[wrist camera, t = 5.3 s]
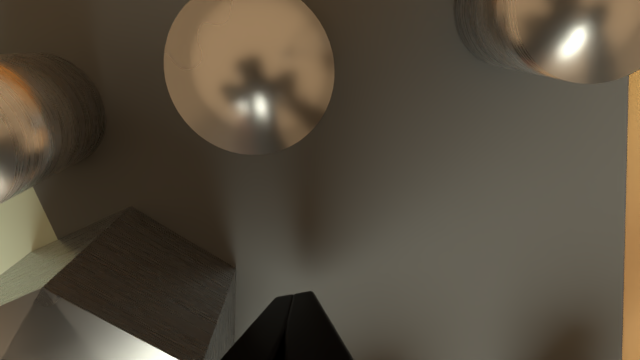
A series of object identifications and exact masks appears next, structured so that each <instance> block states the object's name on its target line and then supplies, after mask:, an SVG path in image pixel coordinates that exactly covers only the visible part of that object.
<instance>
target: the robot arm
mask: <svg viewBox="0 0 640 360" xmlns="http://www.w3.org/2000/svg"><path fill="white" fill-rule="evenodd" d="M220 360H354V359H353V357H352V355H351V354H350V352H349V350H348V349H347V347H346V345H345V344H344V342H343V340H342V339H341V337H340V335H339V334H338V332H337V330H336V329H335V327H334V325H333V324H332V322H331V320H330V319H329V317H328V315H327V314H326V312H325V310H324V309H323V307H322V305H321V304H320V302H319V300H318V299H317V297H316V295H315V294H314V292H313V291H306V292H301V293H296V294H290V295H284V296H278V297H276V298H274V299H273V301H272V302H271V303H270V304H269V305H268V306H267V307H266V308H265V310H264V311H263V312H262V313H261V314H260V315H259V316H258V317H257V319H256V320H255V321H254V322H253V323H252V324H251V325H250V326H249V328H248V329H247V330H246V331H245V332H244V333H243V334H242V336H241V337H240V338H239V339H238V340H237V341H236V342H235V343H234V345H233V346H232V347H231V348H230V349H229V350H228V351H227V352H226V354H225V355H224V356H223V357H222V358H221V359H220Z"/></svg>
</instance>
